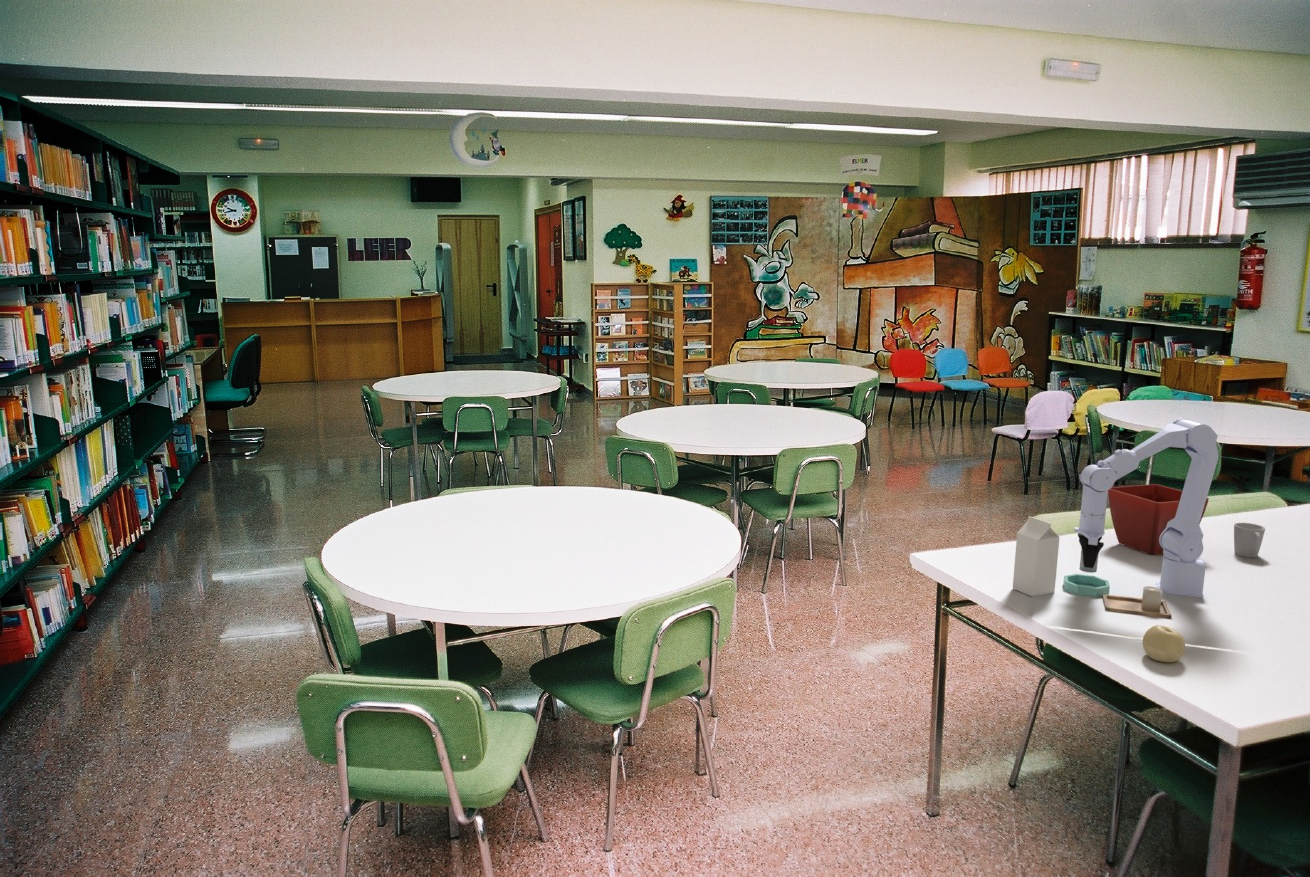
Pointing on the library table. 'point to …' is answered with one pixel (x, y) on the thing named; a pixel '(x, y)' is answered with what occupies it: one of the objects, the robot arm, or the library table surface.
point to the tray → (1132, 606)
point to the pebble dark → (1087, 567)
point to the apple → (1163, 644)
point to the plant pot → (1143, 514)
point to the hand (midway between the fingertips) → (1088, 564)
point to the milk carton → (1036, 558)
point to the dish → (1086, 585)
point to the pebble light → (1151, 599)
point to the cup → (1247, 539)
